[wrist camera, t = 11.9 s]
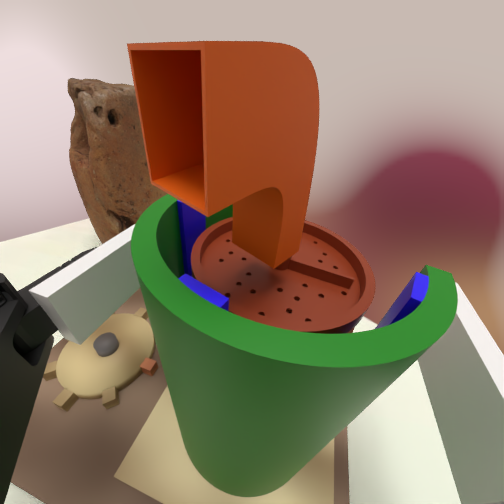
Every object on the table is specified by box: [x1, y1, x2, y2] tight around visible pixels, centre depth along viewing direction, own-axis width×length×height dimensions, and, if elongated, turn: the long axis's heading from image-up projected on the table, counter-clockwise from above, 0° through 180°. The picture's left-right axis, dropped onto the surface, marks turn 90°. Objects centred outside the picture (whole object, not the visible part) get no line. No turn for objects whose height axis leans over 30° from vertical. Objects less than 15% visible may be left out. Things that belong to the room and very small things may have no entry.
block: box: [68, 78, 168, 244], centre depth 28 cm, size 11×8×20 cm
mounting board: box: [11, 288, 349, 504], centre depth 17 cm, size 16×25×3 cm, turn 72°
